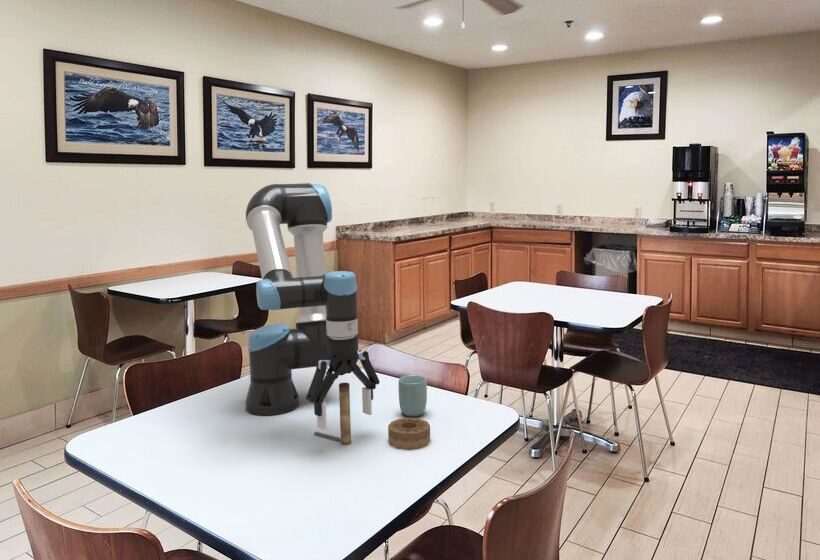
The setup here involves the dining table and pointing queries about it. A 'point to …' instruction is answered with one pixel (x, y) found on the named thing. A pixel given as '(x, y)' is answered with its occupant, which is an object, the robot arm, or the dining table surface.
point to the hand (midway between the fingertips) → (345, 420)
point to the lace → (327, 436)
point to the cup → (412, 395)
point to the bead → (409, 433)
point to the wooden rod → (345, 413)
